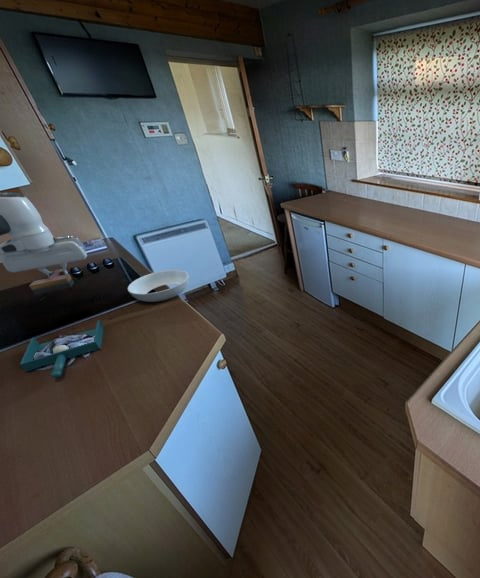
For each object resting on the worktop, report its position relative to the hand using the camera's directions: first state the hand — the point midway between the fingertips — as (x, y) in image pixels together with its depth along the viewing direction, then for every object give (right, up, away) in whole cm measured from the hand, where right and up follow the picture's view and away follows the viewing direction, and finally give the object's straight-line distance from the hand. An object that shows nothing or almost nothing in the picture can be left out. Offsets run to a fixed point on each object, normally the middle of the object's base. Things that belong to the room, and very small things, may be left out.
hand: (58, 275), depth 108 cm
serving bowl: (+27, -8, +17) cm, 33 cm away
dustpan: (+19, -27, -15) cm, 36 cm away
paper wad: (+18, -23, -17) cm, 34 cm away
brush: (+2, -3, -2) cm, 4 cm away
